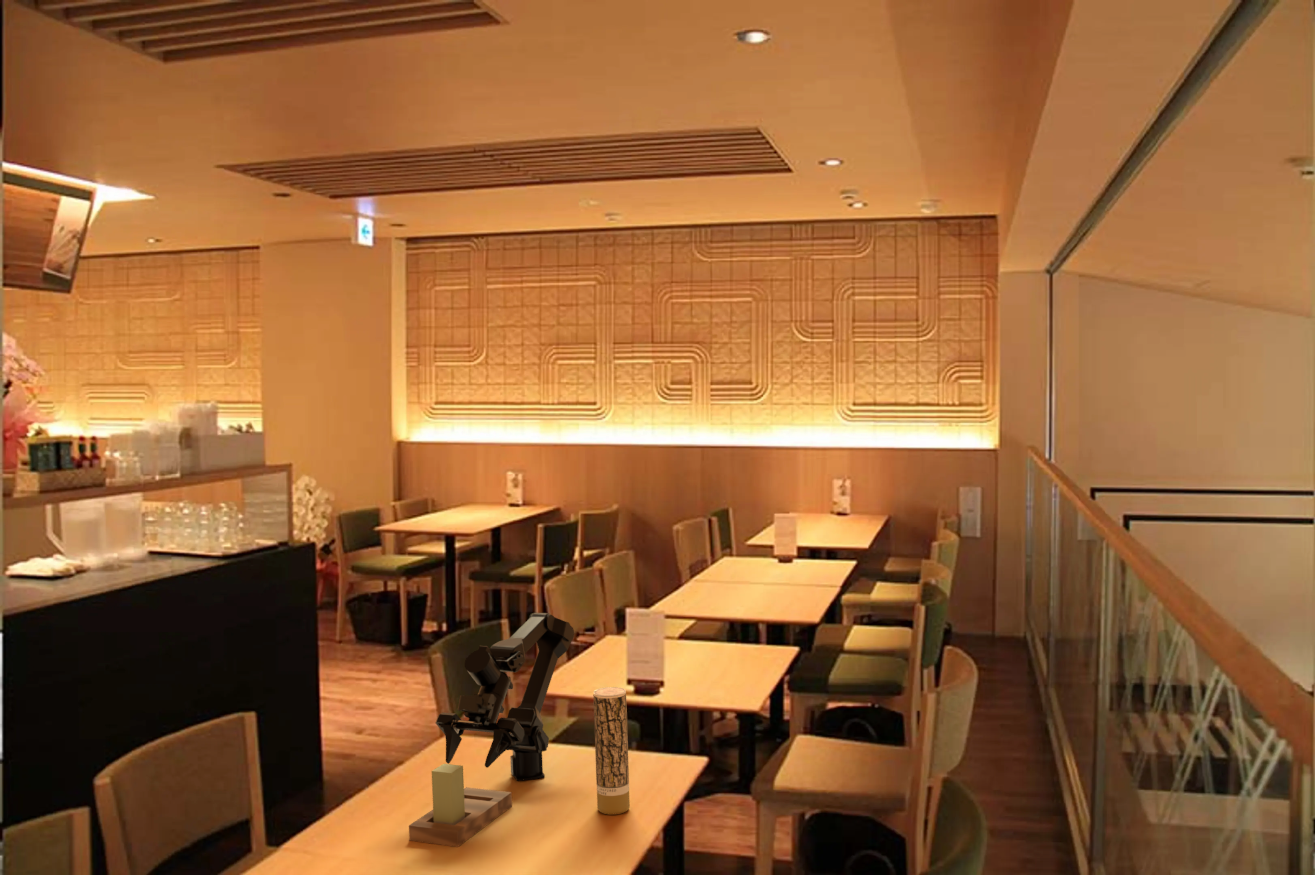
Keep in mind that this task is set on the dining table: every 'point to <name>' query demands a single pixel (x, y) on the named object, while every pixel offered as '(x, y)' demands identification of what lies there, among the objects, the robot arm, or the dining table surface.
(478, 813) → the socket board
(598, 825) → the dining table surface
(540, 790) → the dining table surface
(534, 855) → the dining table surface
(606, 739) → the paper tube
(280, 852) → the dining table surface
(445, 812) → the square bit
